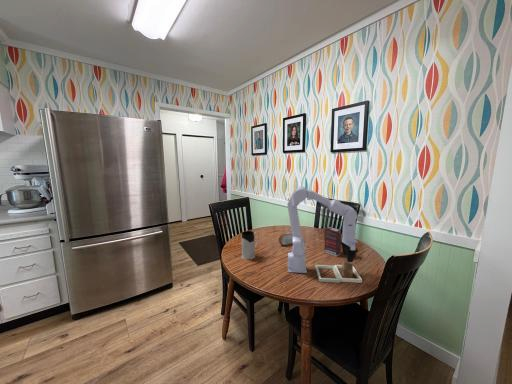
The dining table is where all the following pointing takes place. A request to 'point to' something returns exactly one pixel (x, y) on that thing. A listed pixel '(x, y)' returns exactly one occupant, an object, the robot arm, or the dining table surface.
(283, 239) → the tin
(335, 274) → the pale green rectangular frame
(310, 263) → the dining table surface
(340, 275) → the tray
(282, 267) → the dining table surface
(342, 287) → the dining table surface
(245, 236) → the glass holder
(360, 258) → the dining table surface
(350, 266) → the block
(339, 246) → the supplement box
